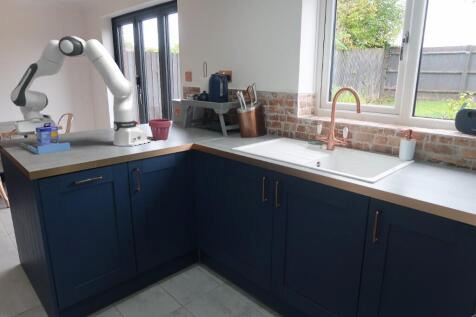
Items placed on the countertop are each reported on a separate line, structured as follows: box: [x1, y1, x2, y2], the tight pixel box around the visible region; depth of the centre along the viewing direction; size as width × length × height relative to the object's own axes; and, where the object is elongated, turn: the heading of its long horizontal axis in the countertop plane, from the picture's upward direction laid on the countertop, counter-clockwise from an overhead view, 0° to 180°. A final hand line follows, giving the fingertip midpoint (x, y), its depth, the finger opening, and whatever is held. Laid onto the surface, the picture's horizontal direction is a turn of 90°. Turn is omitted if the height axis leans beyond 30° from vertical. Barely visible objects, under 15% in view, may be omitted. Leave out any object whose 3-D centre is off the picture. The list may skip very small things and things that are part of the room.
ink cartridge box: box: [36, 123, 60, 147], centre depth 185 cm, size 10×6×14 cm, turn 147°
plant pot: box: [148, 118, 172, 141], centre depth 215 cm, size 14×14×13 cm
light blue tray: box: [19, 141, 71, 155], centre depth 187 cm, size 16×31×4 cm, turn 47°
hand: (41, 138), depth 188 cm, fingers closed
